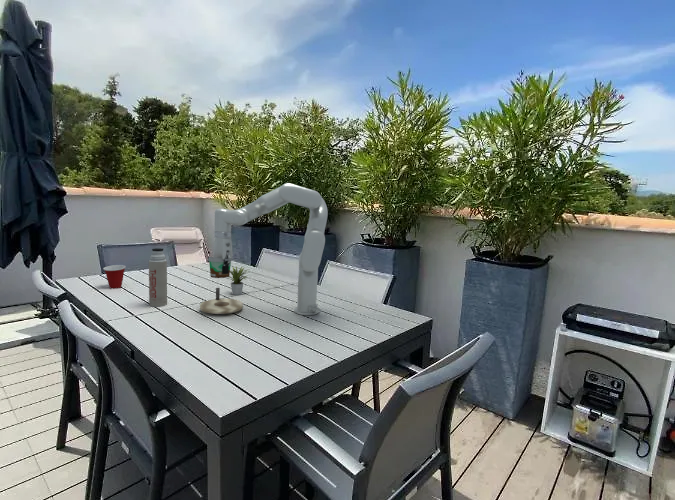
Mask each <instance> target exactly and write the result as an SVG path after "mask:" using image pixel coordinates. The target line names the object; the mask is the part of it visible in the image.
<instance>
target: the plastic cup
mask: <svg viewBox="0 0 675 500" xmlns="http://www.w3.org/2000/svg"><path fill="white" fill-rule="evenodd" d="M102 269H103V271H104V272H105V276H106V280H107V284H108V287H109V289H110V290H111V289H120V288H122V286H123V281H124V273H125V270H126V265H123V264H114V265H109V266H105V267H103V268H102Z"/></svg>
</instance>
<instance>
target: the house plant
mask: <svg viewBox="0 0 675 500" xmlns="http://www.w3.org/2000/svg"><path fill="white" fill-rule="evenodd" d="M244 269H245V267H243V266H241V267H240V268H239V269H238V268H237V266H235V267H234V266H232V270H230V274H231V276H230V275H229V277H228V278H230V279H231V282H230V288H231V293H232V295H233V296H240V295H242V294H243V289H244V282H243V280H247V279H248V277H247V276H250V275H246V274H248V273H250V272H249V271H250V270H251V269H246V270H244Z"/></svg>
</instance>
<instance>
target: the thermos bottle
mask: <svg viewBox="0 0 675 500" xmlns="http://www.w3.org/2000/svg"><path fill="white" fill-rule="evenodd" d="M148 301H149V304H148V305H149V307H152V308H153V307H156V308H159V307H164V306H166V305H168V260H167V259H166V255H165V254H164V248H162V247H161V248H159V247H157V248H155V247H154V248H152V249H151V255H150V256H149V260H148Z"/></svg>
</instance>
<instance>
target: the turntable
mask: <svg viewBox="0 0 675 500" xmlns="http://www.w3.org/2000/svg"><path fill="white" fill-rule="evenodd" d="M220 288H221V287H216V288H215V298H213V299H208V300H204V301H202V302H201V303H200V304H199V310H200V311H201V312H203V313H206V314H214V315H218V314H220V315H223V314H224V315H225V314H232V313H236V312H239V311H241V310H242V309H243V308H244V303H243V302H242V301H241V300H238V299H234V298H221V297H220V295H221V294H220V291H221V290H220Z"/></svg>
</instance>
